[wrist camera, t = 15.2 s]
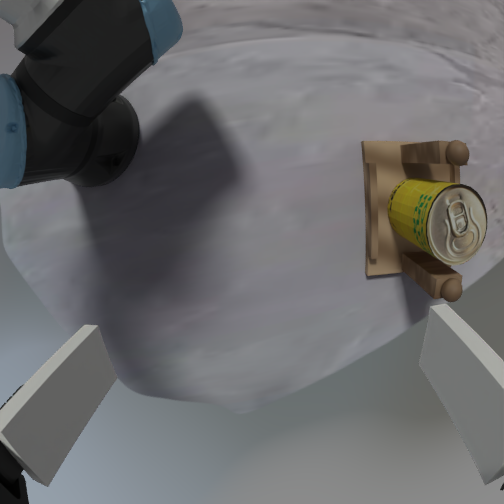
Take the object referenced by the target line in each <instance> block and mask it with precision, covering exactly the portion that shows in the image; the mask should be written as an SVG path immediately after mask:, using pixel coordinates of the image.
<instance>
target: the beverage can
mask: <svg viewBox="0 0 504 504" xmlns="http://www.w3.org/2000/svg"><path fill="white" fill-rule="evenodd" d="M387 211H388V218H389V222H390V224H391V226H392V228H393V229H394V231H396V232H397V233H398V234H399V235H400V236H402V237H403V238H405V239H407V240H408V241H410V242H411V243H413V244H415V245H416V246H418V247H419V248H421V249H423V250H424V251H426V252H427V253H429V254H430V255H432V256H433V257H435V258H437V259H438V260H440V261H441V262H443V263H445V264H447V265H460V264H463V263H465V262H467V261H469V260H470V259H471V258H472V257H473V256H474V255H475V254H476V253H477V252H478V250H479V249H480V247H481V245H482V243H483V241H484V238H485V234H486V230H487V213H486V207H485V205H484V202H483V200H482V198H481V197H480V195H479V194H478V193H477V192H476V191H475V190H474V189H472V188H471V187H469V186H466V185H463V184H457V183H451V182H444V181H438V180H431V179H423V178H408V179H405V180H403V181H401V182H400V183H399V184H397V185H396V187H395V188H394V189H393V191H392V192H391V195H390V197H389V200H388V206H387Z"/></svg>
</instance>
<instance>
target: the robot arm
mask: <svg viewBox="0 0 504 504" xmlns="http://www.w3.org/2000/svg"><path fill="white" fill-rule="evenodd" d="M0 18H2V19H3V20H5V21H6V22H8V23H9V24H11V25H12V26H13V28H14V45H15V48H16V49H18V50H19V51H21V52H22V53H24V54H26V55H25V57H24V58H23V60H22V61H21V62H20V64H19V65H18V66H17V68H16V69H15V70H14V72H13V73H12V74H11V75H8V74H1V75H0V188H9V189H13V188H16V187H18V186H23V185H28V184H34V183H39V182H45V181H51V180H58V179H64V180H67V181H69V182H71V183H73V184H76V185H79V186H83V187H94V186H100V185H104V184H107V183H109V182H111V181H113V180H115V179H116V178H117V177H119V176H120V175H121V174H122V173H123V172H124V171H125V169H126V168H127V167H128V165H129V164H130V162H131V160H132V158H133V156H134V154H135V151H136V148H137V144H138V138H139V125H138V119H137V115H136V113H135V110H134V108H133V107H132V105H131V104H130V103H129V101H128V100H127V99H125V98H124V97H123V96H121V95H119V94H120V93H121V92H122V91H123V90H125V89H126V88H127V87H128V86H129V85H130V84H131V83H132V82H133V81H134V80H135V79H136V78H137V77H139V76H140V75H141V74H142V73H143V72H144V71H145V70H147V69H148V68H149V67H150V66H151V65H155V64H156V63H157V62H158V59H159V58H160V57H161V56H162V55H163V54H164V53H166V52H167V51H168V50H169V49H170V48H171V47H173V46H174V45H175V44H176V43H177V42H178V41H179V40H180V38H181V36H182V32H183V26H182V21H181V18H180V15H179V13H178V11H177V9H176V7H175V5H174V3H173V2H172V0H0ZM419 365H420V367H421V368H422V370H423V372H424V373H425V375H426V376H427V378H428V380H429V382H430V383H431V385H432V387H433V388H434V390H435V392H436V393H437V395H438V397H439V398H440V400H441V402H442V403H443V405H444V407H445V409H446V410H447V412H448V414H449V416H450V417H451V419H452V421H453V423H454V424H455V427H456V428H457V430H458V432H459V434H460V435H461V438H462V439H463V441H464V443H465V445H466V447H467V449H468V451H469V453H470V455H471V457H472V459H473V461H474V463H475V465H476V467H477V469H478V471H479V473H480V475H481V477H482V479H483V482H484V484H485V485H487V484H489V483H491V482H492V481H494V480H496V479H498V478H500V477H501V476H503V475H504V361H503V360H502V359H501V358H500V357H499V356H498V355H497V354H496V353H495V352H494V351H493V349H491V348H490V346H489V345H487V343H486V342H485V341H484V340H483V339H482V338H481V337H480V336H479V335H478V334H477V333H476V332H475V331H474V330H473V329H472V328H471V327H470V326H469V325H468V324H467V323H466V322H465V321H464V320H462V318H460V317H459V316H458V315H457V314H456V313H455V312H454V311H453V310H452V309H451V308H450V307H449V306H448V305H447V304H441V305H435V306H430V310H429V316H428V322H427V328H426V333H425V338H424V343H423V347H422V352H421V356H420V361H419ZM116 379H117V375H116V373H115V370H114V368H113V365H112V363H111V360H110V358H109V355H108V352H107V349H106V347H105V344H104V341H103V338H102V335H101V332H100V329H99V326H98V325H84V326H83V327H82V328H80V329H79V330H78V331H77V332H76V333H75V334H74V335H73V336H72V337H71V338H70V339H69V340H68V341H67V342H66V343H65V344H64V345H63V346H62V347H61V348H60V349H59V350H58V351H57V352H56V353H55V354H54V355H53V356H52V357H51V358H50V359H49V360H48V361H47V362H46V363H45V364H44V365H43V366H42V367H41V368H40V369H39V370H38V371H37V372H36V373H35V374H34V375H33V376H32V377H31V378H30V379H29V380H28V381H27V382H26V383H25V384H24V385H22V386H20V387H19V388H18V389H17V390H16V392H15V393H14V394H13V396H11V397H10V398H9V399H8V400H7V403H4V404H3V405H2V407H1V408H0V504H29V501H28V495H27V488H26V481H25V478H24V476H23V475H22V474H21V472H22V471H23V470H25V471H26V472H27V473H28V475H29V476H30V477H31V478H32V479H33V480H35V481H37V482H39V483H41V484H43V485H45V486H47V487H48V486H49V484H50V482H51V481H52V479H53V478H54V476H55V474H56V473H57V471H58V469H59V468H60V466H61V464H62V463H63V461H64V459H65V458H66V456H67V455H68V453H69V451H70V450H71V448H72V447H73V445H74V443H75V442H76V440H77V439H78V437H79V436H80V434H81V432H82V431H83V429H84V427H85V426H86V425H87V423H88V421H89V420H90V418H91V417H92V415H93V414H94V412H95V411H96V409H97V408H98V406H99V405H100V403H101V401H102V400H103V398H104V397H105V395H106V394H107V392H108V391H109V389H110V388H111V386H112V385H113V383H114V382H115V381H116ZM503 489H504V484H503V485H502V487H501V489H500V490H503Z"/></svg>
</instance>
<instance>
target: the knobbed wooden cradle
mask: <svg viewBox="0 0 504 504" xmlns="http://www.w3.org/2000/svg"><path fill="white" fill-rule="evenodd" d="M361 144H362V155H363V169H364V186H365V213H366V267H365V273H366V274H367V276H371V275H381V274H391V273H401V272H405V273H406V274H407V275H408V276H409V277H411V278H412V279H413V280H414V281H415V282H416V283H417V284H418V285H419V286H420V287H422V288H423V289H424V290H425V291H426V292H427V293H428V294H429V295H430V296H431V297H432V298H433V299H439V298H444V299H445V300H446V301H448V302H455V301H457V300H458V299H459V298H460V297H461V295H462V285H461V282H462V275H460V274H459V273H457V272H456V271H454V270H453V269H451V268H450V267H451V265H447V264H445V263H443V262H441V261H440V260H438V259H437V258H435V257H433V256H432V255H430V254H429V253H427V252H426V251H424V250H423V249H421V248H419V247H418V246H416V245H415V244H413V243H411V242H410V241H408V240H407V239H405V238H403V237H402V236H400V235H399V234H398V233H397V232H396V231H394V229H393V228H392V226H391V224H390V222H389V218H388V211H387V206H388V200H389V197H390V195H391V192H392V191H393V189H394V188H395V187H396V185H397V184H399V183H400V182H401V181H403V180H405V179H408V178H423V179H431V180H438V181H444V182H451V183H457V184H460V166H462V165H467V161H468V159H469V150H468V148H467V146H466V143H463V142H461V141H458V140H454V141H451V142H448V141H431V142H422V143H420V142H396V141H362V142H361Z"/></svg>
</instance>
